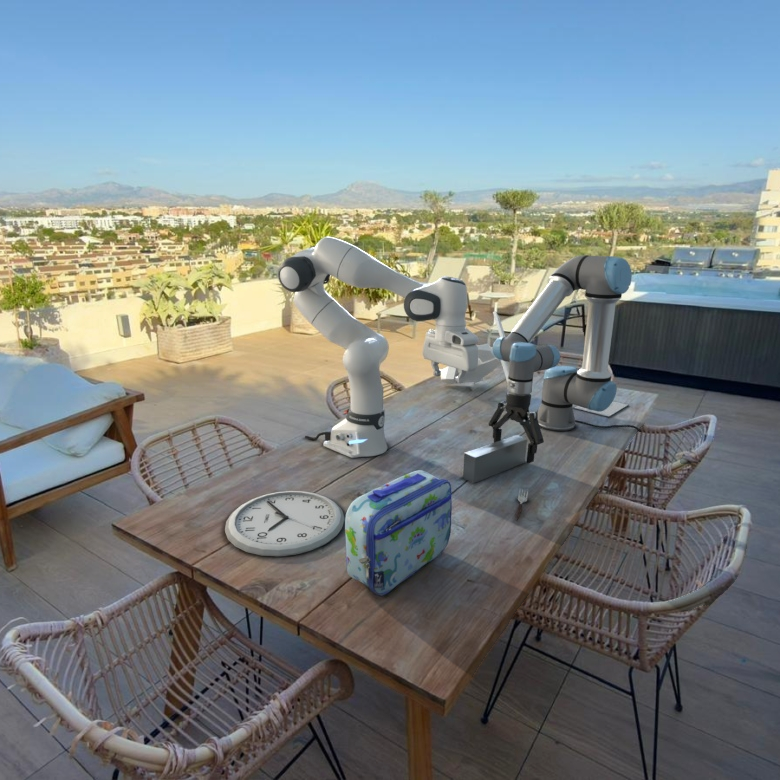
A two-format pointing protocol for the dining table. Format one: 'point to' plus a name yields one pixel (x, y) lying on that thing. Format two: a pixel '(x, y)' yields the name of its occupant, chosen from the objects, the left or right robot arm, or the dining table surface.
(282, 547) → the wall clock
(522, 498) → the fork
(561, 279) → the right robot arm
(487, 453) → the bar
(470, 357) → the left robot arm
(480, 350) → the white plastic object
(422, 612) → the dining table surface
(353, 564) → the lunch box
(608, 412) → the invitation card
